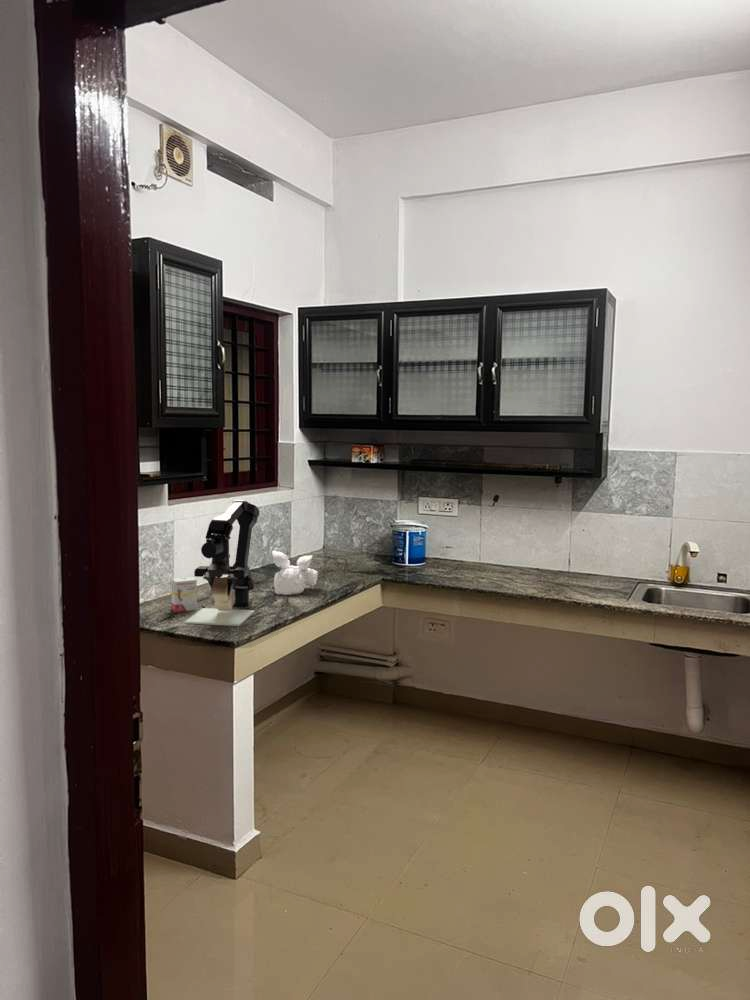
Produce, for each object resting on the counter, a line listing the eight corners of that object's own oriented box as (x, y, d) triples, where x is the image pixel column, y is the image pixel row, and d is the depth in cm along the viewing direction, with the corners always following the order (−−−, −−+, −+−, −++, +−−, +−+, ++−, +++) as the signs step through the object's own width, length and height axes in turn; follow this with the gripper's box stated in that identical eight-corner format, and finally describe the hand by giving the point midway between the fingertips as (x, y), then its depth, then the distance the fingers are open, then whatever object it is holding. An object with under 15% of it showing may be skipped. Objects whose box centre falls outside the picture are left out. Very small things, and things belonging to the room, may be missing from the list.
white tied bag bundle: (263, 575, 299) (274, 542, 314) (268, 609, 311) (278, 576, 327) (309, 579, 297) (318, 546, 313) (312, 613, 310) (320, 580, 325)
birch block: (222, 597, 278) (214, 577, 269) (234, 598, 278) (227, 577, 269) (218, 610, 274) (210, 590, 265) (231, 611, 274) (224, 591, 265)
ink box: (174, 612, 276) (174, 581, 274) (171, 609, 280) (170, 578, 279) (197, 609, 280) (197, 579, 279) (193, 606, 284) (193, 576, 283)
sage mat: (203, 609, 280) (203, 608, 280) (254, 611, 278) (254, 610, 278) (184, 623, 261) (184, 621, 261) (239, 625, 259) (239, 624, 259)
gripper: (188, 556, 261) (189, 599, 263) (239, 558, 259) (240, 601, 261) (199, 550, 272) (200, 592, 274) (248, 552, 270) (249, 594, 272)
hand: (221, 595), depth 270 cm, fingers closed on birch block, 5 cm apart
